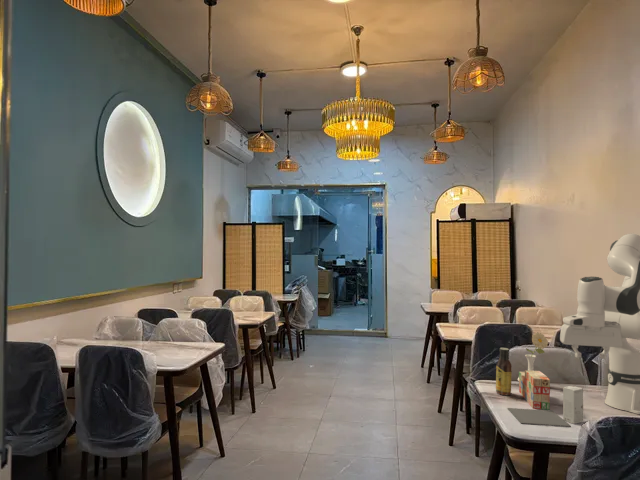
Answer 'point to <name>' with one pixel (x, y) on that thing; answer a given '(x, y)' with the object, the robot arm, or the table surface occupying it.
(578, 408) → the skincare box
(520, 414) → the placemat
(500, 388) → the sauce bottle
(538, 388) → the stack of blocks
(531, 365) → the flower in vase
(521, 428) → the table surface
